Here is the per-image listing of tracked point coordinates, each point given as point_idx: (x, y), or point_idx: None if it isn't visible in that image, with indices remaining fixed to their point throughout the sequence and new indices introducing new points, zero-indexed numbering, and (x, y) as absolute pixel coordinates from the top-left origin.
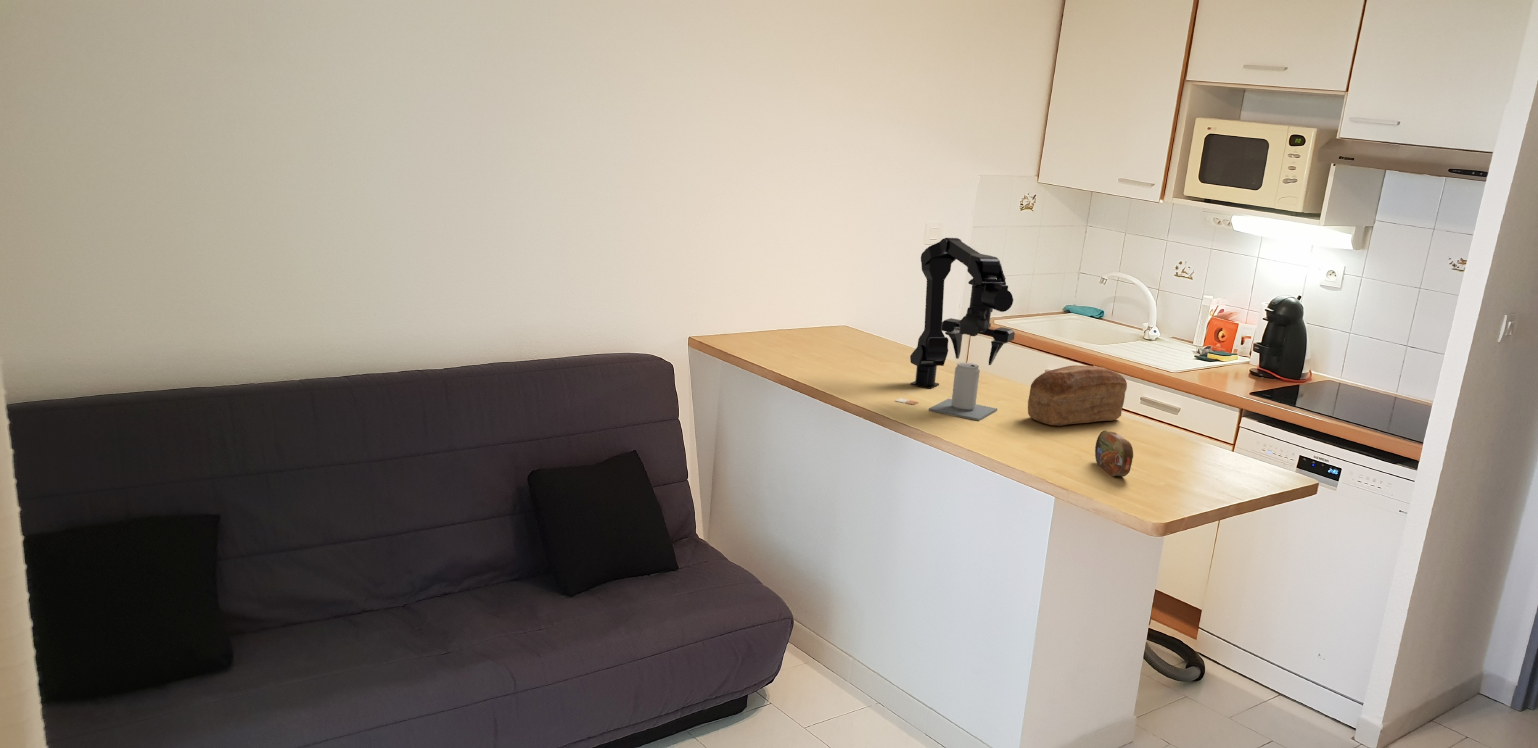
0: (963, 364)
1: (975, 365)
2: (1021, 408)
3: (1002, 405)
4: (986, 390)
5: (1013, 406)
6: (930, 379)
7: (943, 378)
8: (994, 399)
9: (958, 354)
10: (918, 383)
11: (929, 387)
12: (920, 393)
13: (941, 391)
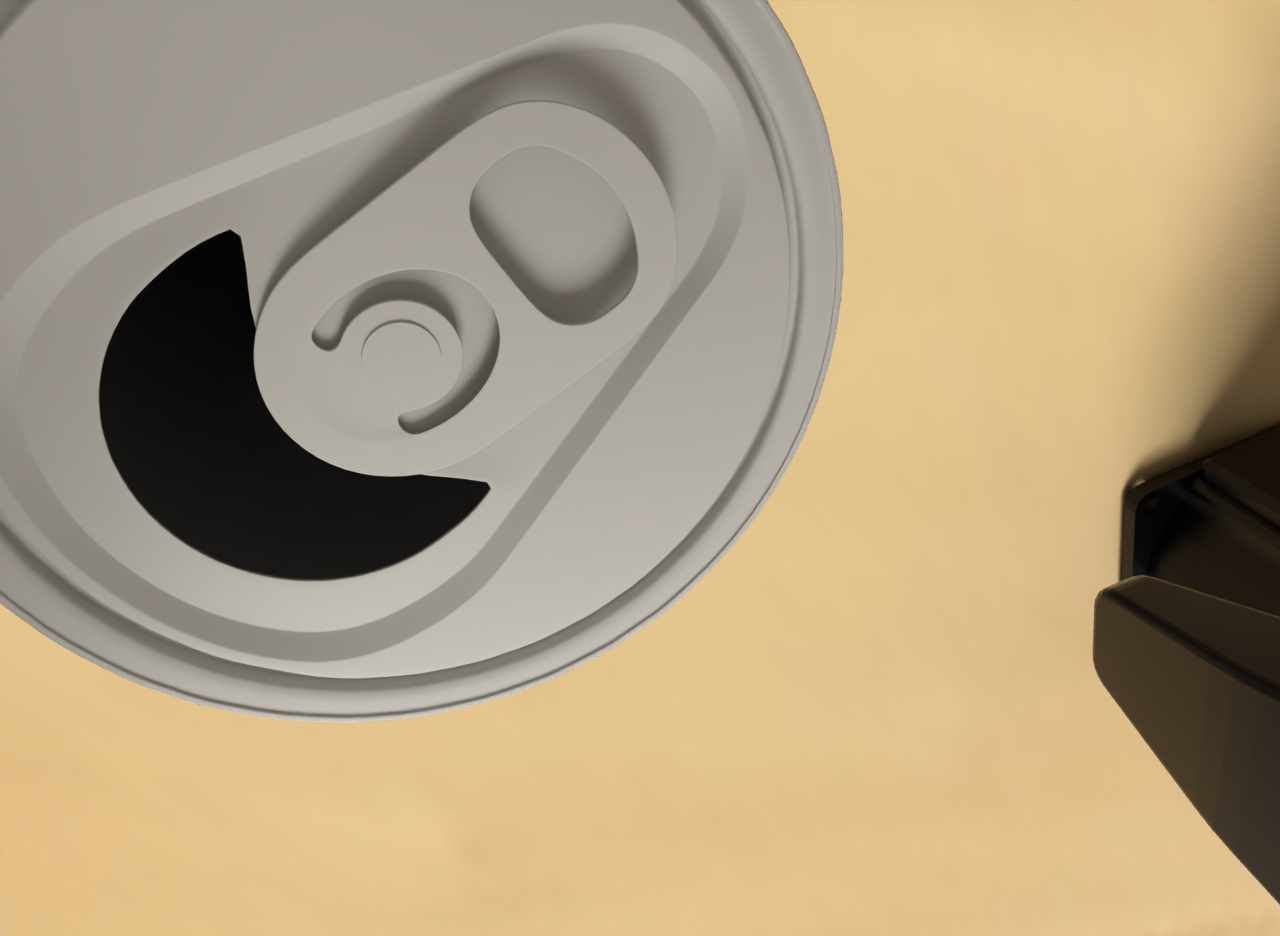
0: (621, 294)
1: (276, 629)
2: (83, 891)
3: (290, 773)
4: (764, 929)
5: (199, 858)
6: (1219, 565)
7: (1168, 818)
8: (519, 832)
9: (1192, 705)
10: (1272, 441)
11: (1146, 488)
12: (1137, 247)
13: (1014, 534)
